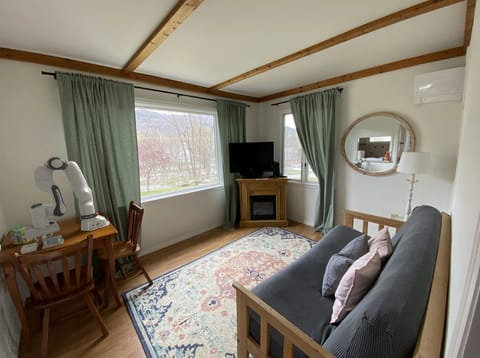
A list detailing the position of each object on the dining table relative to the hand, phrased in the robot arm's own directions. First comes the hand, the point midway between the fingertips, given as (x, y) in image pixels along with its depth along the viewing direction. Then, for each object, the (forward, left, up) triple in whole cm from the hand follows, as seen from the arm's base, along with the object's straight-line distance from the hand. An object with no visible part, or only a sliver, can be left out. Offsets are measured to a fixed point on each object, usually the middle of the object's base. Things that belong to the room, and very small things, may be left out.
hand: (44, 239), depth 166 cm
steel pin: (0, 0, -3) cm, 3 cm away
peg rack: (-6, +7, -3) cm, 10 cm away
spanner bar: (-6, +7, -2) cm, 9 cm away
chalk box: (+15, -15, -3) cm, 22 cm away
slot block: (+8, +7, -3) cm, 11 cm away
